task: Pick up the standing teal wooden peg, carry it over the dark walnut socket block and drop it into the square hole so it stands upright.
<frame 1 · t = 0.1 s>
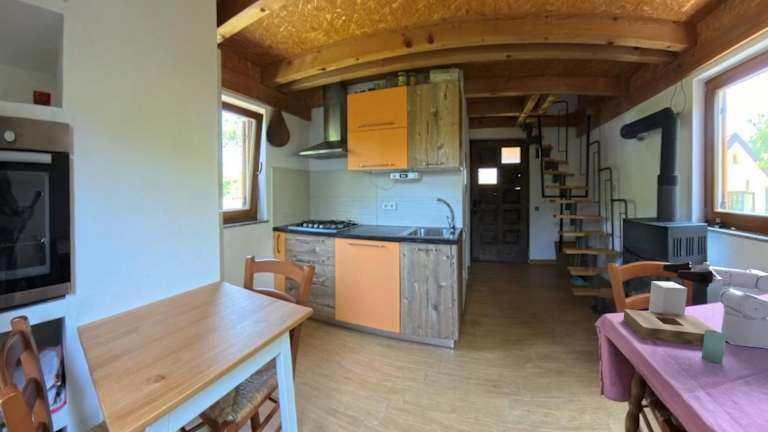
hand: (670, 270, 99), 22 cm above the table, tool horizontal, fingers open, 7 cm apart
supplement box: (665, 317, 113), on the table
socket block: (668, 332, 101), on the table
peg: (711, 359, 86), on the table
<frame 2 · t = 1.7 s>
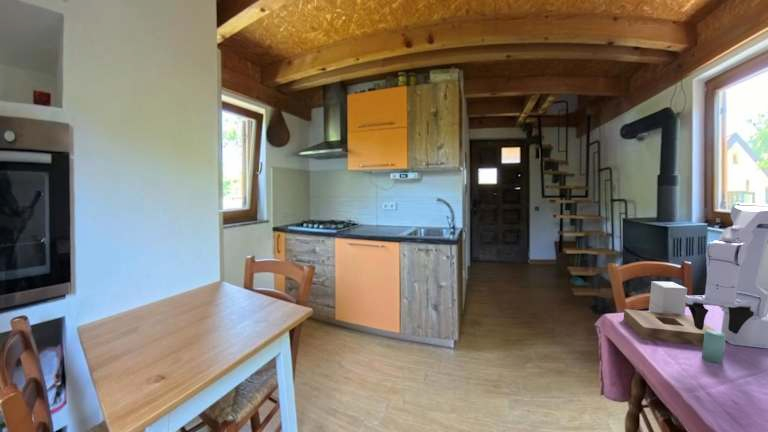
hand: (715, 330, 85), 9 cm above the table, tool pointing down, fingers open, 7 cm apart
nothing on the table moved.
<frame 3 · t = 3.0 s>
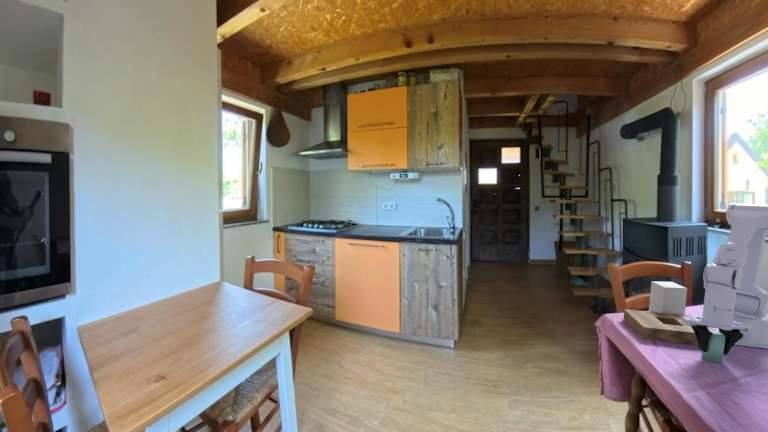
hand: (712, 351, 86), 2 cm above the table, tool pointing down, fingers closed on peg, 4 cm apart
peg: (711, 359, 86), on the table, touching gripper
everything else where it was.
when the fingers open (5 cm above the table, at t = 6.5 s): peg drops 2 cm, resting in socket block.
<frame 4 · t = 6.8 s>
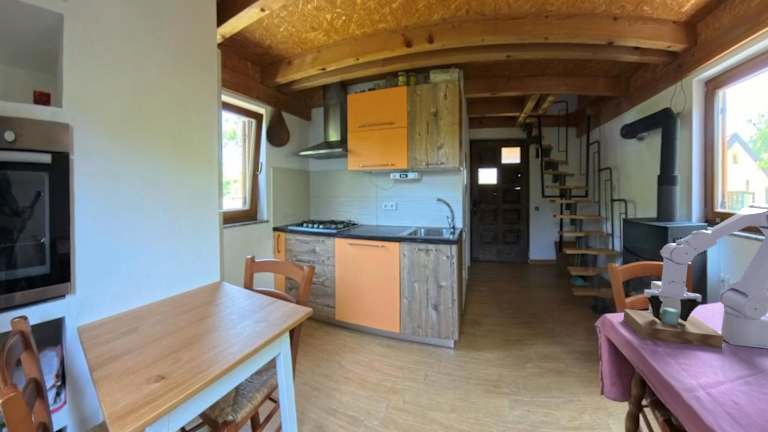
hand: (669, 318, 101), 5 cm above the table, tool pointing down, fingers open, 7 cm apart
peg: (668, 332, 101), resting in socket block
everything else where it was.
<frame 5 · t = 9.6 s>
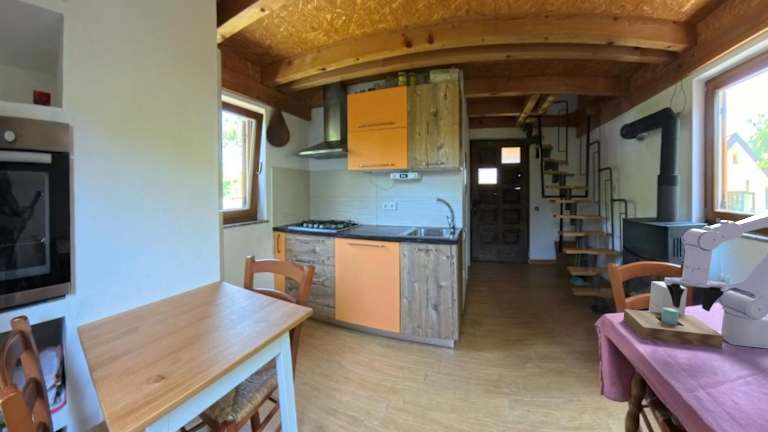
hand: (690, 308, 96), 10 cm above the table, tool pointing down, fingers open, 7 cm apart
nothing on the table moved.
at the end: peg 0.1 cm off-centre on the socket block, point 0.0 cm above the socket block's base; peg tilted 0°; the gripper is holding nothing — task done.
